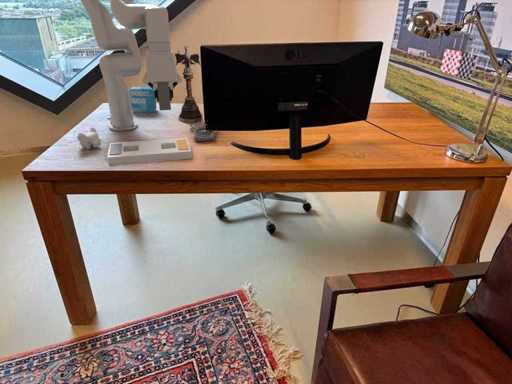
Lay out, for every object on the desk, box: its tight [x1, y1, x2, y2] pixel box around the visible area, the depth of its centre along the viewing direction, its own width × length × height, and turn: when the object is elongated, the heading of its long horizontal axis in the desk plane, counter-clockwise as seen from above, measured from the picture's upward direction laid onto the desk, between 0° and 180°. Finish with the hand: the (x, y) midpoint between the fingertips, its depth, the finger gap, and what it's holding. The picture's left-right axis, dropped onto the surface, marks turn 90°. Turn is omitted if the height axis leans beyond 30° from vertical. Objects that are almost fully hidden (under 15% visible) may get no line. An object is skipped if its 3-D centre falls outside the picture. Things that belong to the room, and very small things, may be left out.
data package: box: [129, 86, 157, 113], centre depth 183 cm, size 12×4×12 cm, turn 95°
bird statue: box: [174, 45, 203, 124], centre depth 172 cm, size 17×13×35 cm
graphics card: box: [189, 123, 217, 141], centre depth 159 cm, size 17×4×12 cm
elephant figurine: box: [76, 127, 104, 150], centre depth 142 cm, size 8×10×7 cm
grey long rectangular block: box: [157, 82, 172, 111], centre depth 130 cm, size 4×4×14 cm
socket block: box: [107, 137, 192, 166], centre depth 139 cm, size 30×14×3 cm, turn 106°
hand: (164, 99), depth 131 cm, fingers closed on grey long rectangular block, 4 cm apart
